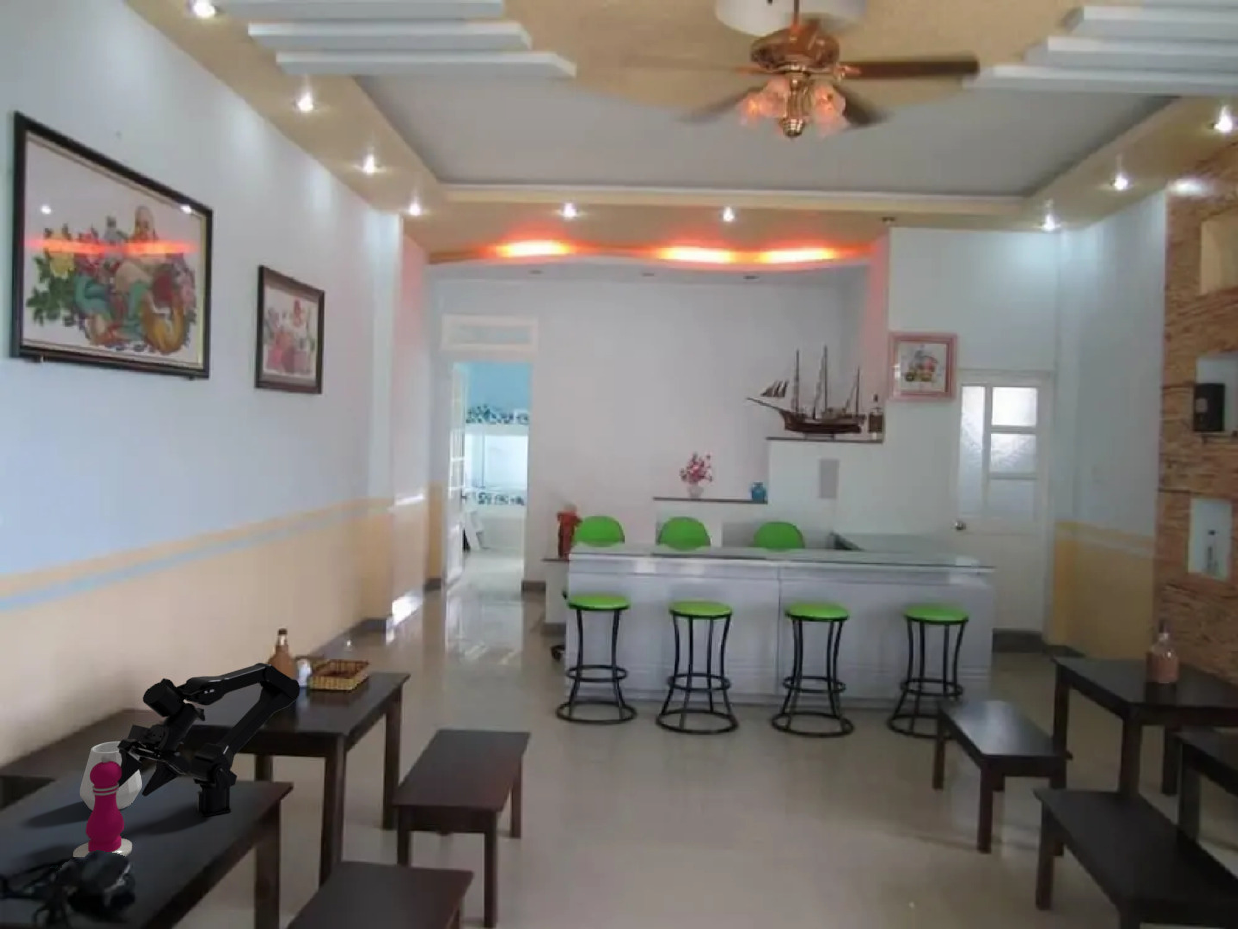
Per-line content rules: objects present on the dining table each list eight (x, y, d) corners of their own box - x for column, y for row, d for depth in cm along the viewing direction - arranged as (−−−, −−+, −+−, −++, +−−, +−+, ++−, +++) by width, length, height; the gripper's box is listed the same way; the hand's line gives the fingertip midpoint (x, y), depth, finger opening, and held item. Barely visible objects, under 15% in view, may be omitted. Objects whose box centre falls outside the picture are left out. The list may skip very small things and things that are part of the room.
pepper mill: (91, 858, 202) (92, 762, 201) (81, 847, 207) (82, 753, 206) (128, 849, 207) (129, 755, 206) (117, 838, 212) (119, 747, 211)
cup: (136, 812, 229) (137, 754, 228) (72, 817, 225) (73, 757, 224) (146, 792, 241) (147, 736, 241) (86, 796, 238) (87, 739, 237)
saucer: (127, 838, 214) (127, 834, 214) (135, 857, 205) (135, 852, 205) (70, 849, 208) (70, 845, 208) (75, 869, 199) (76, 864, 199)
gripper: (125, 702, 220) (77, 765, 211) (180, 716, 211) (133, 781, 202) (155, 728, 227) (111, 789, 218) (210, 742, 218) (166, 806, 209)
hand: (129, 791), depth 211 cm, fingers open, 9 cm apart
